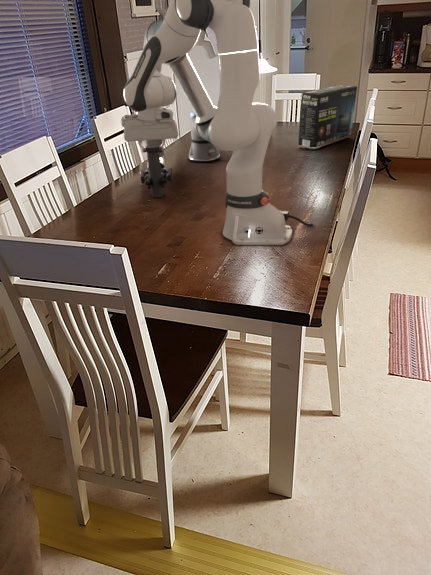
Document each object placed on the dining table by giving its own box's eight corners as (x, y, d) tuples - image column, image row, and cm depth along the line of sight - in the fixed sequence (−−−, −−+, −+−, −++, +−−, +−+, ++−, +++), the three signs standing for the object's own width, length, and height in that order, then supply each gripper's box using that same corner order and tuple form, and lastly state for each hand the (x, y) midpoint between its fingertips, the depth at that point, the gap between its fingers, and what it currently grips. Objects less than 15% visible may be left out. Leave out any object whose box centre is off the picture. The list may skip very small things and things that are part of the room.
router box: (314, 151, 231) (318, 94, 217) (296, 148, 237) (299, 92, 224) (352, 138, 251) (358, 85, 238) (335, 135, 258) (340, 83, 245)
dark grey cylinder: (149, 195, 184) (144, 147, 174) (160, 192, 186) (155, 145, 176) (154, 198, 181) (149, 149, 171) (165, 196, 183) (160, 147, 173)
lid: (143, 150, 175) (143, 146, 174) (156, 148, 177) (155, 143, 177) (149, 153, 171) (149, 148, 170) (162, 151, 174) (161, 146, 173)
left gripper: (177, 174, 198) (179, 192, 178) (136, 177, 197) (133, 196, 177) (176, 157, 194) (178, 173, 174) (134, 160, 193) (131, 177, 173)
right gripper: (119, 116, 164) (125, 155, 171) (176, 113, 166) (179, 151, 173) (120, 113, 169) (125, 151, 176) (176, 110, 171) (178, 147, 178)
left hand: (156, 185), depth 176 cm, fingers closed on dark grey cylinder, 5 cm apart
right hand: (153, 151), depth 174 cm, fingers closed on lid, 5 cm apart
